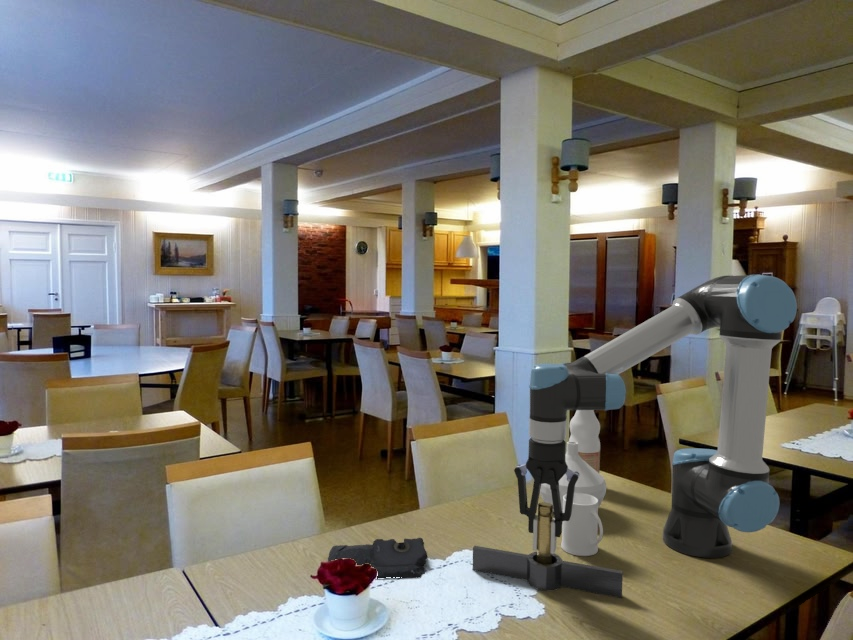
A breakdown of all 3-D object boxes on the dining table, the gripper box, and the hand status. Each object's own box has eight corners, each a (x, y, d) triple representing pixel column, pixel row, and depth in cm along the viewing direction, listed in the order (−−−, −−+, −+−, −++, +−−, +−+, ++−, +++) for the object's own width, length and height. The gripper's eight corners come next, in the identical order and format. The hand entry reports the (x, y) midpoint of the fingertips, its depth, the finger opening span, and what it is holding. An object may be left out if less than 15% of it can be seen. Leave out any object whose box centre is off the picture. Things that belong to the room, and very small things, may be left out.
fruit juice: (584, 494, 176) (587, 401, 175) (561, 485, 184) (563, 396, 182) (605, 488, 182) (608, 398, 180) (581, 480, 189) (583, 393, 188)
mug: (614, 559, 135) (615, 508, 134) (582, 565, 132) (583, 512, 132) (584, 538, 146) (585, 490, 145) (554, 543, 143) (555, 494, 143)
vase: (614, 525, 154) (616, 452, 153) (543, 524, 155) (545, 451, 154) (595, 499, 173) (596, 434, 172) (532, 498, 173) (533, 434, 172)
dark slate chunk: (329, 551, 139) (329, 531, 139) (422, 547, 142) (423, 528, 141) (325, 584, 124) (325, 562, 124) (430, 580, 126) (430, 558, 126)
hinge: (622, 588, 122) (623, 564, 122) (620, 605, 116) (621, 580, 115) (477, 561, 133) (478, 540, 133) (468, 576, 127) (468, 553, 127)
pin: (552, 573, 125) (554, 503, 124) (549, 579, 123) (551, 508, 122) (538, 570, 126) (539, 501, 125) (535, 576, 124) (537, 506, 123)
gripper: (589, 438, 123) (585, 548, 125) (513, 430, 129) (510, 536, 131) (585, 447, 116) (581, 564, 118) (505, 439, 122) (502, 550, 124)
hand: (544, 549), depth 124 cm, fingers closed on pin, 3 cm apart
